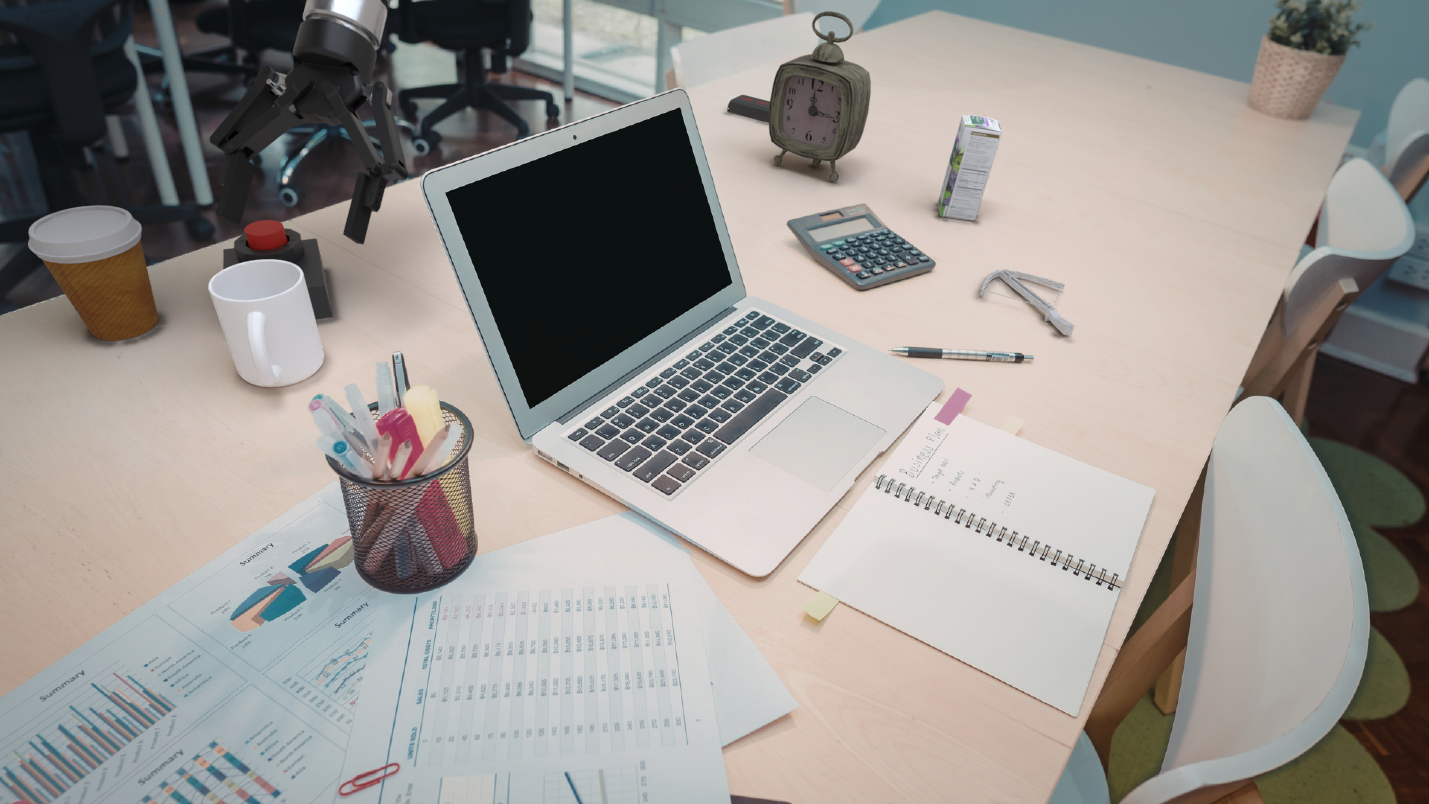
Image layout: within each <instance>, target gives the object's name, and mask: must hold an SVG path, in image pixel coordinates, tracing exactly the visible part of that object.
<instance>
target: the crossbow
mask: <svg viewBox="0 0 1429 804" xmlns="http://www.w3.org/2000/svg"><path fill="white" fill-rule="evenodd" d="M996 278H999V279H1001V280H1002V281H1004V282H1005V283H1006V284H1007V285H1009V286H1010V287H1011V288H1012V289H1013V290H1015V291H1016V292H1017V293H1019V294H1020V295H1021V296H1022V297H1023V298H1024V299H1026V300H1027V301H1025V300H1021V299H1019V298H1015V297H1010V296H1009V295H1004V294H1000V293H996V292H993V291H989V290H985V289H986V287H987V286H988V284H989V283H990V282H991V281H992V280H994V279H996ZM1019 279H1023V280H1027V281H1031V282H1035V283H1038V284H1042V285H1046V286H1049V287H1053V288H1054V289H1059V291H1058V293H1057V296H1056V298H1055V299H1054V302H1053V303H1052V305H1051V303H1050V302H1048V301H1047V300H1045V298H1042V297H1041V296H1040V295H1039V294H1037V293H1036V292H1035V291H1033V290H1032V288H1029V287H1028V286H1027V285H1026V284H1025V283H1024V282H1022V281H1020V280H1019ZM1065 286H1066V284H1065V283H1064V282H1058V281H1055V280H1052V279H1049V278H1045V277H1042V276H1038V275H1034V274H1030V273H1026V272H1022V271H1018V270H1010V269H1006V268H1005V269H1000V270H999V269H997V270H995V271H993V272H991V273H990V274H989V275H988V276H987V277H986V279H985V280H984V282H983V284H982V288H980V290H979V296H983V294H984V292H986V293H991V294H995V295H997V296H1001V297H1004V298H1009V299H1012V300H1016V301H1020V302H1023V303H1026V304H1031V305H1033V306H1034V307H1036V308H1037V309H1038V310H1040V311H1041V312H1042V313H1043V314H1045V315H1044V322H1051V324H1053V325H1054V327H1055V328H1056V329H1057V330H1058V331H1059V332H1060V333H1061V334H1062V335H1063V336H1069V335H1070V336H1071V335H1072V334H1073V332H1074V328H1075V324H1074V323H1072V322H1070V321H1068V320H1067V319H1065V318H1064V317H1062V316H1061V315H1060V313H1059V311H1058V310H1057V309H1056V308H1054V305H1055V303H1056V301H1057V299H1058V297H1059V295H1060V293H1061V291H1062V290H1064V288H1065Z"/></svg>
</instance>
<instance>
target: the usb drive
mask: <svg viewBox="0 0 1429 804" xmlns="http://www.w3.org/2000/svg"><path fill="white" fill-rule="evenodd" d="M769 107H770V100H767V99H763V98H758V97H754V96H750V95H747V94H740V95H738V96H736V97H734V98H731V100H729V102H728V104H727V110H726V111H727V113H731V114H734V115H737V116H740V117H741V116H742V117H746V118H749V119H752V120H757V121H760V122H764V123H769ZM728 108H729V109H728Z"/></svg>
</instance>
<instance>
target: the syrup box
mask: <svg viewBox="0 0 1429 804" xmlns="http://www.w3.org/2000/svg"><path fill="white" fill-rule="evenodd" d="M1002 134H1003V130H1002V127H1001V123H1000V121H999V120H998V119H995V118H992V117H988V116H982V115H974V114H962V115H961V118H960V122H959V125H958V128H957V132H956V136H955V139H954V142H953V146H952V150H951V153H950V156H949V161H948V164H947V167H946V171H945V175H944V178H943V182H942V185H941V189H940V193H939V197H938V201H937V206H938V207H937V208H938V212H939V213H938V215H939V217H943V218H948V219H957V220H965V221H973V222H975V221H976V219H977V216H978V212H979V209H980V206H981V203H982V199H983V197H984V193H985V190H986V186H987V183H988V180H989V177H990V173H991V170H992V167H993V164H994V161H995V157H996V154H997V151H998V148H999V145H1000V141H1001V137H1002Z"/></svg>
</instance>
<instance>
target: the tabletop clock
mask: <svg viewBox="0 0 1429 804" xmlns="http://www.w3.org/2000/svg"><path fill="white" fill-rule="evenodd" d="M823 17H833V18H837V19H839V20H842V21H844V22H845V23H846V24H847V26H848V28H849V34H848V35H846V36H845V37H836V33H835V31H833V30H831V31H828V34H827V35H825V34H823V33H822V32H820V31H819V30H818V29H817V28H816V22H817V21H818V20H819V19H820V18H823ZM811 27H812V32H813V33H814V34H815V35H816V36H817V37H818V38H820V39H821V40H823V41H825V42H822V43H820V44H818V45H817V46H816V47H815V48H814V49H813V51H812V53H811V54H810V53H809V54H805V55H801V56H798V57H796V58H794V59H791V60H788V61H787V62H784V63H781V64H780V65H779V67H778V69H777V71H776V72H775V76H774V79H773V82H772V87H771V93H770V98H769V101H770V107H769V122H768V133H769V138H770V142H771V143H772V144H774V145H775V146H776V147H778V148H779V149H781V150H782V151H781V153H780V154H779V155H775V156H773V159H772V163H773V165H775V166H780V165H781V164H782V163H783V158H784V156H785V155H786V154H787V153H788V152H789V153H791V154H794V155H796V156H799V157H802V158H807V159H811V160H812V164H813V166H815V167H820V166H821V165H822V162H829V163H830V170H831V172H830V173H829V175H828V180H829V181H830V182H832V183H836V182H837V181H838V180H839V178H840V175H839V173H838V172H837V171H836V162H837V161H838V160H840V159H841V158H843V157H844V156H846V155H847V154H849V153H850V152H851V151H853V150H855V149H856V147H857V146H858V145H859V143H860V142H861V139H862V136H863V134H864V131H865V127H866V123H867V120H868V116H869V110H870V104H871V103H870V101H871V92H872V89H871V88H872V86H871V85H872V81H871V76H870V75H871V74H870V71H868V70H867V69H865V68H864V67H863V66H861V65H859V64H858V63H854V62H852V61H848V60H845V54H844V52H843V50H842V48H841V46H839V44H838V43H845V42H847V41H848V40H850V39H851V38H852V37H853V35H854V26H853V23H852V21H851V20H850V18H848V17H847V16H846V15H845V14H842V13H840V12H836V11H826V10H825V11H822V12H819V13H818V14H816V15H815V16H814V18H813V20H812V22H811Z"/></svg>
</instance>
